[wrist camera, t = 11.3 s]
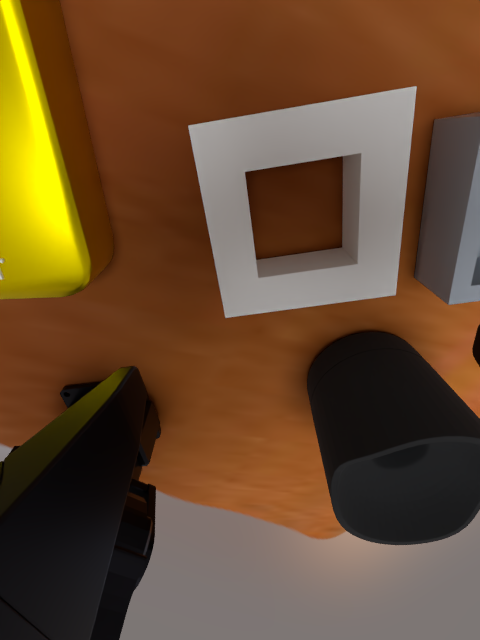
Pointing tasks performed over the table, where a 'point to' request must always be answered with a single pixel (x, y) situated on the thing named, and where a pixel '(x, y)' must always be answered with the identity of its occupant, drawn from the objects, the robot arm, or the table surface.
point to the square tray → (452, 212)
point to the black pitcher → (393, 442)
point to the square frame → (358, 199)
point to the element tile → (46, 161)
